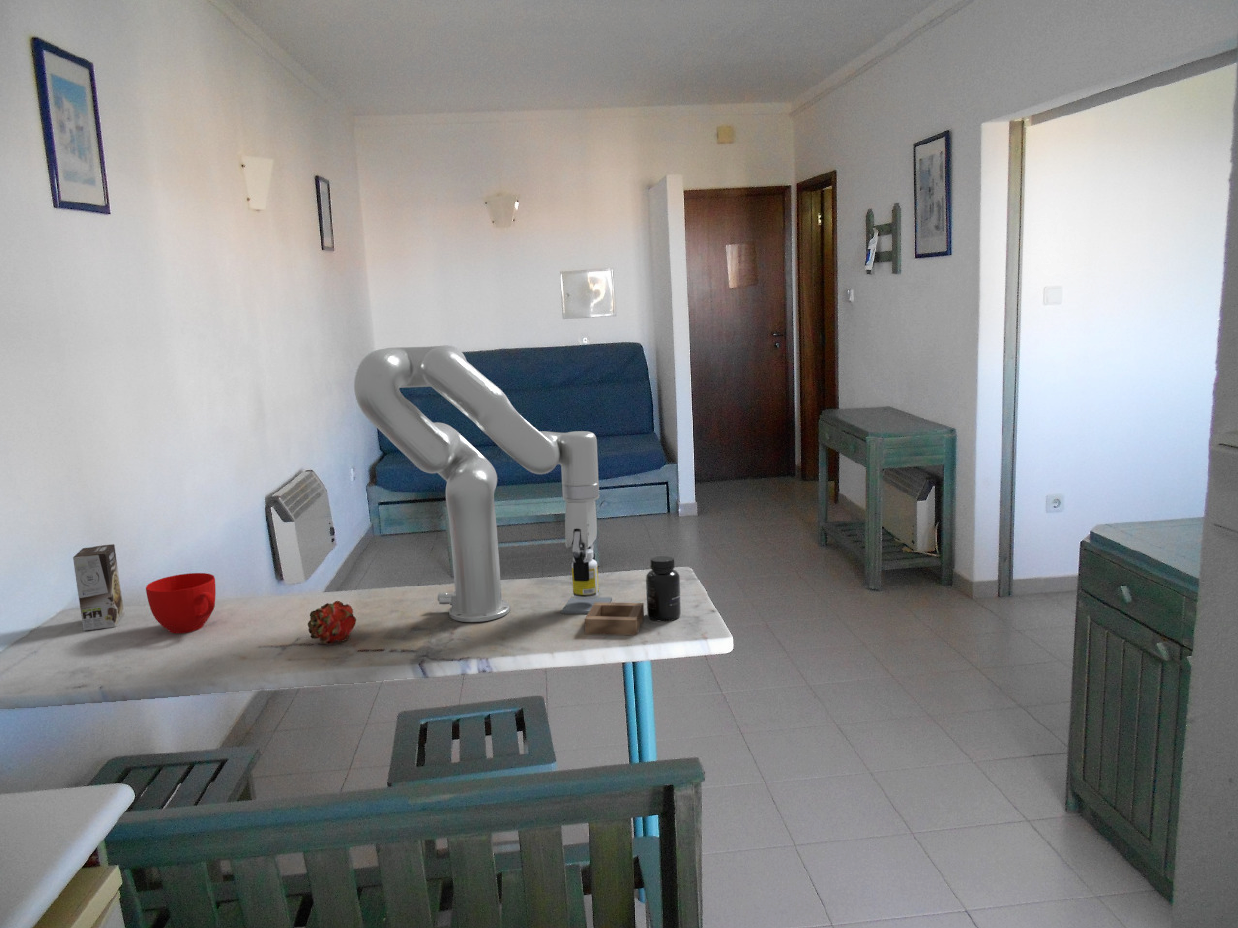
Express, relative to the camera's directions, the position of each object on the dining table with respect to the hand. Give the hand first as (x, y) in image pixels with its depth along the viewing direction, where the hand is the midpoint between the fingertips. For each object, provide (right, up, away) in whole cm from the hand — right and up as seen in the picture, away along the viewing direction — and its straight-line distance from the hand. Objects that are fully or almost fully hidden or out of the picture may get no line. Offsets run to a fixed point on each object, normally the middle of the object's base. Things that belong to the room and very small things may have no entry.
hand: (584, 575), depth 191 cm
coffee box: (-103, -11, +5) cm, 104 cm away
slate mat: (0, -7, +1) cm, 7 cm away
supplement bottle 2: (+16, -8, -7) cm, 19 cm away
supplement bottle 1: (0, -5, +1) cm, 5 cm away
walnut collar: (+6, -9, -11) cm, 15 cm away
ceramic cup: (-81, -11, -2) cm, 82 cm away
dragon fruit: (-49, -11, -12) cm, 51 cm away
